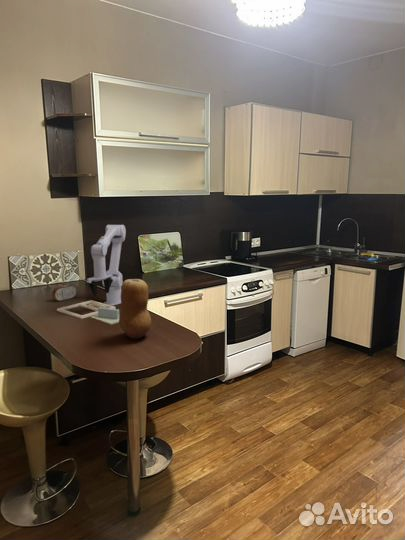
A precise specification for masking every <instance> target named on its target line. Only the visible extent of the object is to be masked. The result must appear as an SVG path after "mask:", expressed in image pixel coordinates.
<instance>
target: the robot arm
mask: <svg viewBox="0 0 405 540" xmlns="http://www.w3.org/2000/svg"><path fill="white" fill-rule="evenodd" d="M126 233H127V230H126V226H125V225H124V224H107V225H106V226H105V234H104V236H103V235H102V236H101V237H100V238H99V239H98V241H97V242H96V244H92V246H91V248H90V254H91V257H92V260H93V276H92V277H88V278H87V279H86V282H87V285H88V287H89V288H90V290H91V293H92V295H93V297H97V294H98V284H99V283H98V282H99V281H102V286H103V287H104V292H105V293H106V294H105V295H106V301H104V302H103V304H107V305H111V306H117V305H119V304H120V305H121V286H122V284H123V282H124V281H123V274H122V273H121V272H120V271H119V266H120V259H121V251H122V244H123V242H124V241H125V240H126ZM111 243H112V246H111V253H110V262H109V269H108V270H107V269H106V255H107V253H108V248H109V247H110V244H111Z"/></svg>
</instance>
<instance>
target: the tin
mask: <svg viewBox="0 0 405 540" xmlns="http://www.w3.org/2000/svg"><path fill="white" fill-rule="evenodd" d="M77 295H78V288H77V286H76V285H74V284H73V283H72V284H71V283H69V284H64V285H59V286H56V287H55V288H54V289H53V290H52V292H51V297H52V298H53V300H55V301H58V302H63V301H67V300H72V299H74V298H76V297H77Z"/></svg>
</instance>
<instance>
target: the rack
mask: <svg viewBox="0 0 405 540" xmlns="http://www.w3.org/2000/svg"><path fill="white" fill-rule="evenodd" d="M92 303H97V304H100V305H104V306H106V308H111V309H116V306H115V305H108V304H105V303H104V302H103V303H102V302H99V301H95V300H92V299H90V300H86V301H82V302H79V303H74V304H71V305H67V306H62V307H59V308H56V311H57V312H59V313H62V314H66V315H69V316H72V317H75V318H77V319H85V318H89V317H91V316H95V315H98V308H95V307H92V306H89V304H92ZM78 307H82V308H85V309H88V310H92V312H89V313H85V314H82V315H81V314H78V313H75V312H72V311H69V310H70V309H73V308H78ZM93 311H94V312H93Z"/></svg>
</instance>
